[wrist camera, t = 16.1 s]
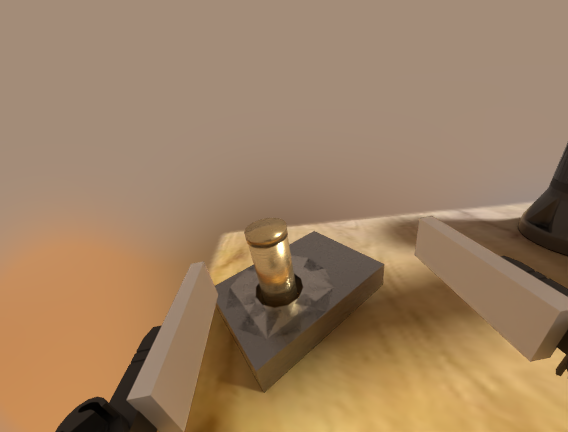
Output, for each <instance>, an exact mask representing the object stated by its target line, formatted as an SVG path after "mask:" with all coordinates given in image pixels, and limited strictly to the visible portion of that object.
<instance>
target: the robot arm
mask: <svg viewBox="0 0 568 432" xmlns="http://www.w3.org/2000/svg"><path fill="white" fill-rule="evenodd" d="M518 229H519V231H520V232H521V233H522V234H523V235H524V236H525V237H527V238H528V239H530V240H531V241H533V242H535V243H537V244H539V245H541V246H543V247H545V248H548V249H550V250H553V251H556V252H559V253H562V254H565V255H568V143H567V145H566V148H565V150H564V152H563V155H562V157H561V159H560V162H559V164H558V166H557V169H556V171H555V173H554V176H553V179H552V181H551V183H550V185H549V188H548V189H547V190H546V191H545V192H544V193H543V194H542V195H541V196H540V197H539V198H538V199H537V200H536V201H535V202H534V203H533V204H532V205H531V206H530V207H529V208H528V209H527V210H526V211H525V212H524V213H523V215H522V217H521V220H520V222H519V225H518ZM415 256H416V257H417V258H418V259H419V260H421V261H422V262H423V263H424V264H425V265H426V266H427V267H428V268H429V269H430V270H431V271H432V272H434V273H435V274H436V275H437V276H438V277H439V278H440V279H441V280H442V281H443V282H444V283H445V284H447V285H448V286H449V287H450V288H451V289H452V290H453V291H454V292H455V293H456V294H457V295H458V296H460V297H461V298H462V299H463V300H464V301H465V302H466V303H467V304H468V305H469V306H470V307H471V308H473V309H474V310H475V311H476V312H477V313H478V314H479V315H480V316H481V317H482V318H483V319H484V320H486V321H487V322H488V323H489V324H490V325H491V326H492V327H493V328H494V329H495V330H496V331H497V332H499V333H500V334H501V335H502V336H503V337H504V338H505V339H506V340H507V341H508V342H509V343H510V344H512V345H513V346H514V347H515V348H516V349H517V350H518V351H519V352H520V353H521V354H522V355H523V356H525V357H526V358H527V359H528V360H529V361H530V362H531V361H535V360H540V359H545V358H550V357H551V355H552V354H553V352H554V351H555V349H556V348H559V349H560V350H561V351H562V352H564V353H565V354H566V356H565V357H564V359H563V360H562V361H561V363H560V364H559V366H558V367H557V368H556V375H559V376H561V375H562V374H563V373H564V371H565V370H566V369H567V371H568V289H567V288H565V287H563V286H562V285H560V284H558V283H556V282H555V281H553V280H551V279H547V278H546V276H544V275H542V274H541V273H539V272H535V271H534V269H532V268H530V267H528V266H527V265H525V264H523V263H521V262H519V261H517V260H514V259H511V258H509V257H506V256H498V255H497V254H495V253H493V252H492V251H490V250H488V249H487V248H485V247H483V246H482V245H480V244H478V243H477V242H475V241H473V240H472V239H470V238H468V237H467V236H465V235H463V234H462V233H460V232H458V231H456V230H455V229H453V228H451V227H450V226H448V225H446V224H445V223H443V222H441V221H440V220H438V219H436V218H435V217H433V216H428V217H423V218H419V225H418V232H417V240H416V248H415ZM217 298H218V293H217V290H216V288H215V286H214V284H213V281H212V279H211V277H210V274H209V272H208V270H207V268H206V265H205V263H204V262H199V263H194V264H191V266H190V268H189V270H188V272H187V274H186V276H185V278H184V280H183V282H182V284H181V287H180V289H179V291H178V293H177V295H176V297H175V299H174V301H173V303H172V306H171V307H170V310H169V312H168V314H167V316H166V318H165V320H164V322H163V324H162V326H157V327H153V328H152V329H151V330H150V332H149V333H148V334H147V335H146V336H145V337H144V339H143V340H142V342H141V344H140V346H139V348H138V349H137V353H136V354H135V355H134V357H133V359H132V361H131V364H130V365H129V366H128V368H127V370H126V372H125V374H124V376H123V378H122V380H121V381H120V383H119V385H118V387H117V389H116V391H115V393H114V395H113V396H112V398H111V400H110V402H109V403H108V402H107V401H106V400H105V399H104V398H101V397H95V398H92V399H88V400H87V401H85V402H84V403H82V404H81V405H79V406H78V407H76V408H75V409H74V410H73V411H72V412H71V413H70V414H69V415H68V416H67V417H66V418H65V419H64V421H63V422H62V423H61V424H60V426H58V428H57V430H56V432H157V430H158V431H159V432H185V428H186V424H187V420H188V416H189V412H190V408H191V404H192V400H193V396H194V392H195V387H196V383H197V379H198V375H199V371H200V367H201V363H202V359H203V355H204V351H205V347H206V343H207V339H208V334H209V330H210V326H211V322H212V318H213V314H214V310H215V306H216V302H217Z"/></svg>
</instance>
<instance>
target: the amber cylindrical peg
mask: <svg viewBox="0 0 568 432" xmlns="http://www.w3.org/2000/svg"><path fill="white" fill-rule="evenodd" d="M244 233H245V237H246V240H247V243H248V245H249V248H250V252H251V255H252V259H253V263H254V266H255V270H256V274H257V277H258V281H259V285H260V288H261V292H262V295H263V299H264V303H265V306H269V307H272V308H277V307H282V306H287V305H289V304H290V303H292V302H293V301H295V300H296V299H297V298H298V294H297V288H296V282H295V276H294V271H293V265H292V259H291V253H290V248H289V242H288V236H287V235H288V232H287V226H286V223H285V221H284V220H282V219H279V218H266V219H261V220H258V221H256V222H253V223H252V224H250V225H249V226H248V227H247V228H246V229H245V232H244Z"/></svg>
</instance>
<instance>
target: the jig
mask: <svg viewBox="0 0 568 432" xmlns="http://www.w3.org/2000/svg"><path fill="white" fill-rule="evenodd" d="M289 248H290V253H291V259H292V265H293V271H294V276H295V282H296V288H297V292H298V293H299V294H300V296H299V298H297V299H296V300H295V301H293V302H292V303H290V304H289V305H287V306H282V307H277V308H272V307H269V306H265V305H263V303H264V299H263V295H262V292H261V288H260V285H259V281H258V277H257V274H256V270H255V266H254V265H252V266H250V267H248V268H246V269H245V270H243V271H241V272H239V273H237V274H236V275H234V276H232V277H230V278H228V279H227V280H225V281H223V282H221V283H219V284H218V285H216V286H215V288H216V290H217V293H218V298H217V302H216V307H217V309H218V311H219V312H220V314H221V316H222V318H223V320H224V321H225V323H226V325H227V327H228V329H229V330H230V332H231V334H232V336H233V338H234V339H235V341H236V343H237V345H238V347H239V348H240V350H241V352H242V354H243V356H244V358H245V359H246V361H247V363H248V365H249V367H250V368H251V370H252V372H253V374H254V376H255V377H256V379H257V381H258V383H259V385H260V386H261V388H262V390H263V392H265V391H266V390H268V389H269V388H270V387H271V386H272V385H273V384H274V383H275V382H276V381H277V380H279V379H280V378H281V377H282V376H283V375H284V374H285V373H286V372H287V371H288V370H290V369H291V368H292V367H293V366H294V365H295V364H296V363H297V362H298V361H299V360H300V359H302V358H303V357H304V356H305V355H306V354H307V353H308V352H309V351H310V350H311V349H313V348H314V347H315V346H316V345H317V344H318V343H319V342H320V341H321V340H322V339H324V338H325V337H326V336H327V335H328V334H329V333H330V332H331V331H332V330H333V329H335V328H336V327H337V326H338V325H339V324H340V323H341V322H342V321H343V320H344V319H345V318H347V317H348V316H349V315H350V314H351V313H352V312H353V311H354V310H355V309H356V308H358V307H359V306H360V305H361V304H362V303H363V302H364V301H365V300H366V299H367V298H369V297H370V296H371V295H372V294H373V293H374V292H375V291H376V290H377V289H378V288H380V287H381V286H382V285H383V275H384V264H383V263H381V262H379V261H376V260H374V259H372V258H370V257H368V256H366V255H364V254H362V253H359V252H357V251H355V250H353V249H351V248H349V247H347V246H345V245H343V244H340V243H338V242H336V241H334V240H332V239H330V238H328V237H326V236H324V235H321V234H319V233H317V232H315V231H313V232H312V233H310V234H308V235H306V236H304V237H303V238H301V239H299V240H297V241H295V242H293V243H292V244H290V245H289Z"/></svg>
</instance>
